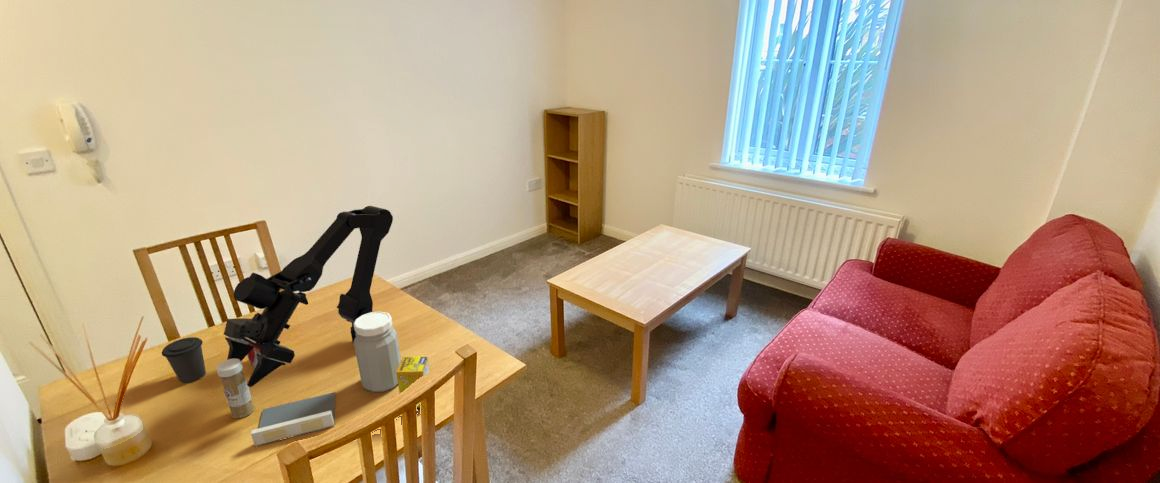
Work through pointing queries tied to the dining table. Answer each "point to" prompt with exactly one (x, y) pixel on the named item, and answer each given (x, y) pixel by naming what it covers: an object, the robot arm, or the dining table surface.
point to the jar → (377, 351)
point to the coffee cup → (186, 359)
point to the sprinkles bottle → (235, 388)
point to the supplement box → (411, 371)
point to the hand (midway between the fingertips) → (237, 379)
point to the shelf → (295, 419)
